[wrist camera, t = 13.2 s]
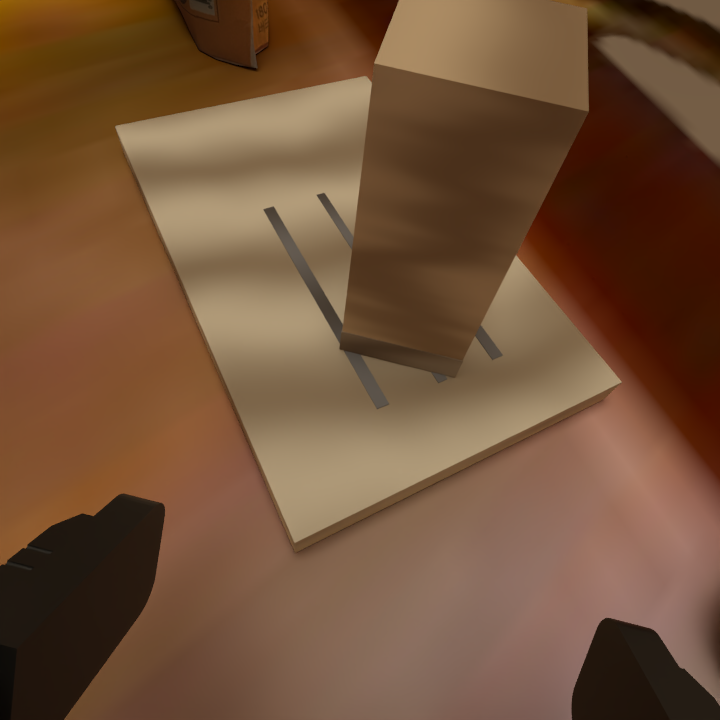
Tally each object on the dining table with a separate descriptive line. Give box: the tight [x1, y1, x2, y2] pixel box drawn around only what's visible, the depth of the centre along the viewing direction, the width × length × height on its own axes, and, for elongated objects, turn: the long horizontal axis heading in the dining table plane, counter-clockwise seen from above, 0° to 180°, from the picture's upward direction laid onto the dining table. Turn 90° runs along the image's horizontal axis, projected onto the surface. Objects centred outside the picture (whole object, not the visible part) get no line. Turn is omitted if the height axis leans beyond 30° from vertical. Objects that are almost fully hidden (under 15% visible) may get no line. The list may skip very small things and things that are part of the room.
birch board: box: [115, 76, 622, 553], centre depth 24 cm, size 22×14×2 cm, turn 27°
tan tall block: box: [339, 0, 589, 378], centre depth 17 cm, size 5×5×11 cm
